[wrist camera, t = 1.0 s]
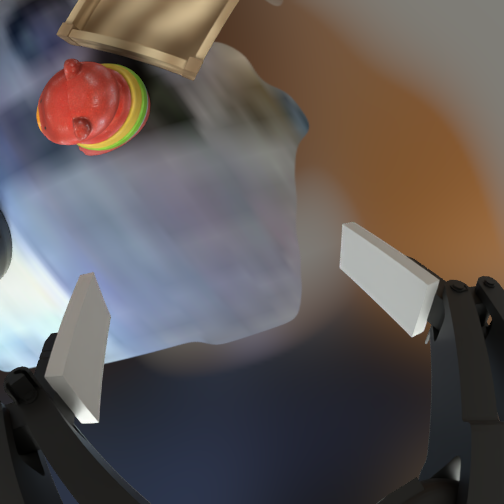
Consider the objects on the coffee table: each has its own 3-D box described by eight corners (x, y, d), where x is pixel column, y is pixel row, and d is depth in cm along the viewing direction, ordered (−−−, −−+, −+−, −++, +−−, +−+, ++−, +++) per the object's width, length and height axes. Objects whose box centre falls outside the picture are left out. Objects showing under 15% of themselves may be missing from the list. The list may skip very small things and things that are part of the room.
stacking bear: (74, 79, 27) (7, 55, 11) (150, 63, 29) (132, 15, 13) (81, 158, 31) (17, 190, 16) (155, 143, 33) (140, 161, 18)
